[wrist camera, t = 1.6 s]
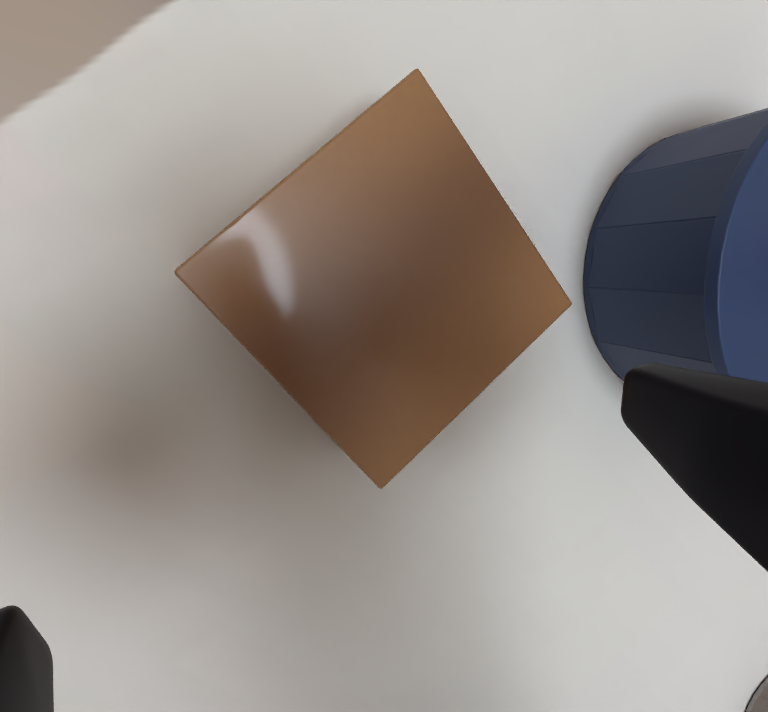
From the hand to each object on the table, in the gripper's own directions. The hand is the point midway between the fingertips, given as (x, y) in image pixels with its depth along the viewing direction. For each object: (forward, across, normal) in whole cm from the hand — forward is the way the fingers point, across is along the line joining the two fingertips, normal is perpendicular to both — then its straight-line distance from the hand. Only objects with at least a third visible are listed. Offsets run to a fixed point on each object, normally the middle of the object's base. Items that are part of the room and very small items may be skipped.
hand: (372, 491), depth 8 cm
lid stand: (+14, -5, +3) cm, 15 cm away
